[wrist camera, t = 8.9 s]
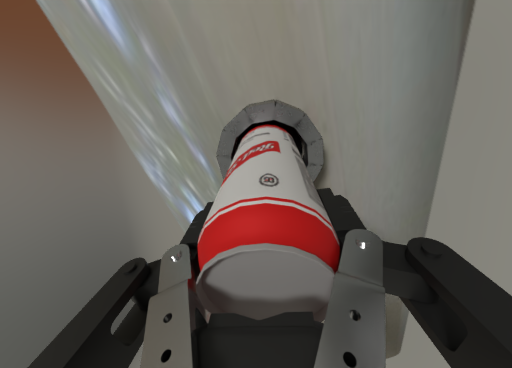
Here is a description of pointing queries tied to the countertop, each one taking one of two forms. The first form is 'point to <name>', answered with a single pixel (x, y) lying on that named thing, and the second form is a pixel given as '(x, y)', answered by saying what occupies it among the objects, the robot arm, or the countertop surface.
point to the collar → (278, 116)
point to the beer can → (267, 235)
